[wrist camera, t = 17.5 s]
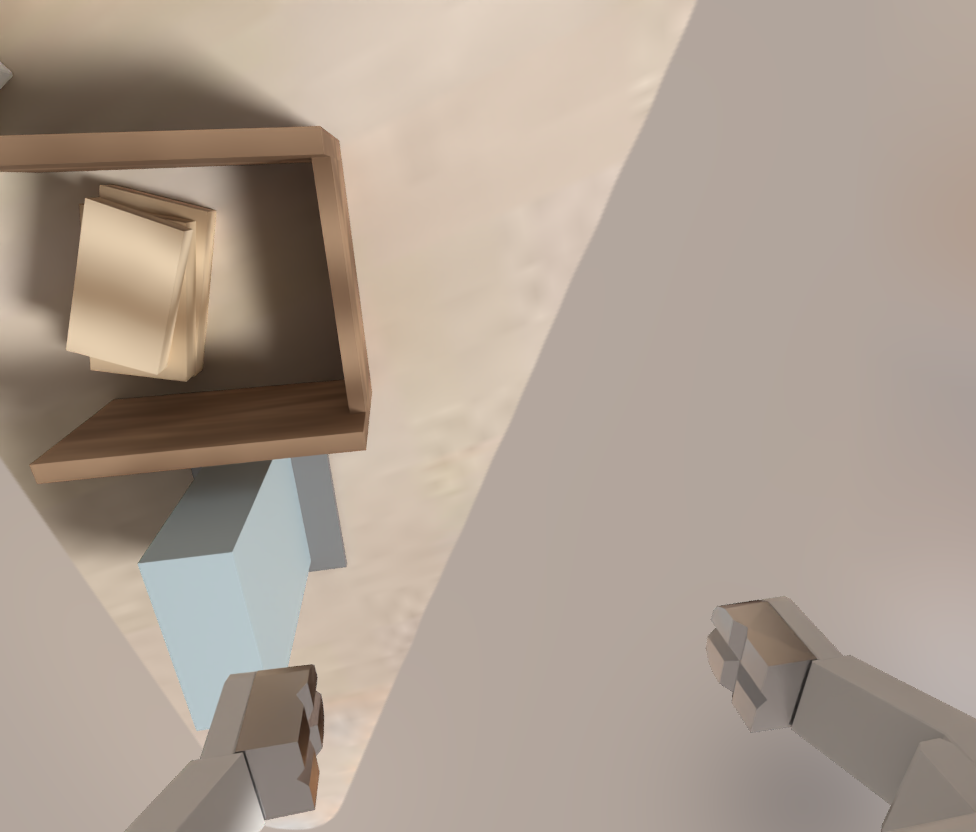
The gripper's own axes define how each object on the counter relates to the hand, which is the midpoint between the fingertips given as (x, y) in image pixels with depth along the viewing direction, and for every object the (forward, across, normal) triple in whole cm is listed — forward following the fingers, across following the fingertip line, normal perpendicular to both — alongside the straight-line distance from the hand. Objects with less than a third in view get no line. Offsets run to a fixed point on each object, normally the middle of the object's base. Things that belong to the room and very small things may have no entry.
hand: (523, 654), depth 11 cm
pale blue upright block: (+31, +14, +15) cm, 37 cm away
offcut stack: (+33, +18, -2) cm, 37 cm away
